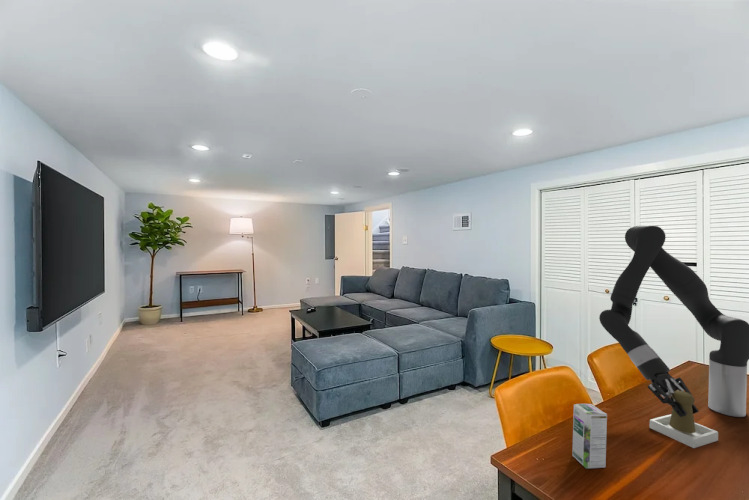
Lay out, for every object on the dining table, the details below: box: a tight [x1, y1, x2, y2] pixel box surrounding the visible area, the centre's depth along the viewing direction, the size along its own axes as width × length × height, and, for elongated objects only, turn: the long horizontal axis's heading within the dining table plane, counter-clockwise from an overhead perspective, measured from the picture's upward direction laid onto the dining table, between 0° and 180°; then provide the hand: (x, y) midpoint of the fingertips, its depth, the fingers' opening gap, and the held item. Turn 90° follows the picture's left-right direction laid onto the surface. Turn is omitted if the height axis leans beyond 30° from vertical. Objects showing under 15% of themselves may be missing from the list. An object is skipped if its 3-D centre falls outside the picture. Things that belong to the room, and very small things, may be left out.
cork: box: [670, 390, 696, 433], centre depth 105 cm, size 6×6×11 cm
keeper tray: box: [649, 413, 719, 449], centre depth 105 cm, size 12×12×3 cm
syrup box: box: [571, 403, 608, 469], centre depth 92 cm, size 6×6×14 cm
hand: (689, 414), depth 104 cm, fingers closed on cork, 5 cm apart
